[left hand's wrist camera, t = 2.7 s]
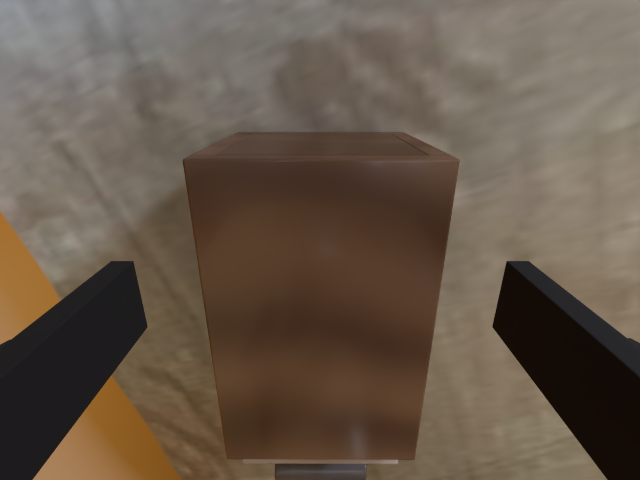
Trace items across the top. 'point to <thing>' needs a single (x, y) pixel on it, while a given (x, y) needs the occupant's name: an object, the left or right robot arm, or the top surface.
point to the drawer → (320, 468)
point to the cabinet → (320, 287)
